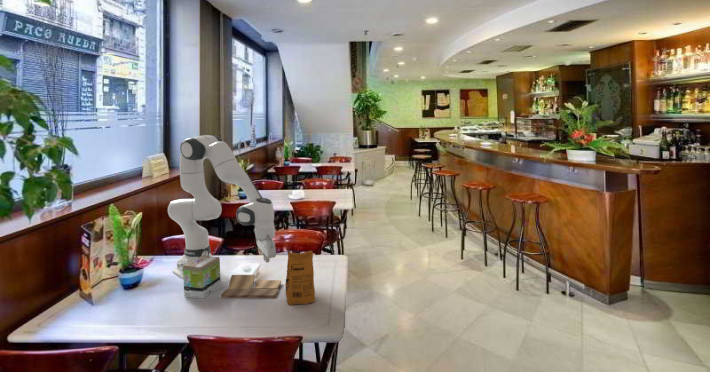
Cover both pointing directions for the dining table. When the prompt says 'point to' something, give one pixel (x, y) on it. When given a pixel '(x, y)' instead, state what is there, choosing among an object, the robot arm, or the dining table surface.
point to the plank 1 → (241, 282)
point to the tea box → (201, 276)
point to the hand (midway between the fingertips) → (266, 261)
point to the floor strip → (249, 293)
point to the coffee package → (300, 278)
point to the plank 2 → (267, 284)
